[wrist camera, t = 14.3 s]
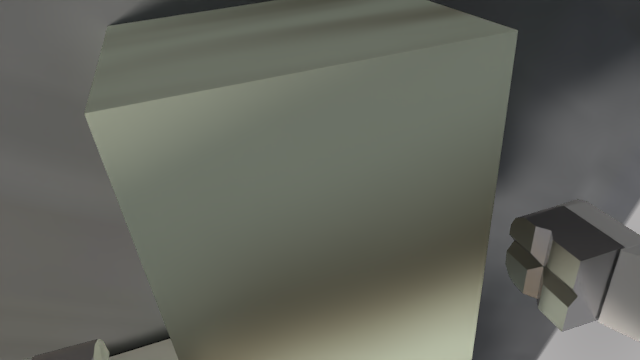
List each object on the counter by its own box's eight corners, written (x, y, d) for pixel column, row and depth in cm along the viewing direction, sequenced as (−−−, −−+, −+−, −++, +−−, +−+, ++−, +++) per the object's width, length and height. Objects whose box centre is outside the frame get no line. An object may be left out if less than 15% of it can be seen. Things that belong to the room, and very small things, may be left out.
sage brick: (108, 24, 10) (84, 113, 5) (376, -17, 11) (517, 30, 7) (195, 299, 14) (219, 466, 10) (381, 245, 15) (470, 371, 11)
